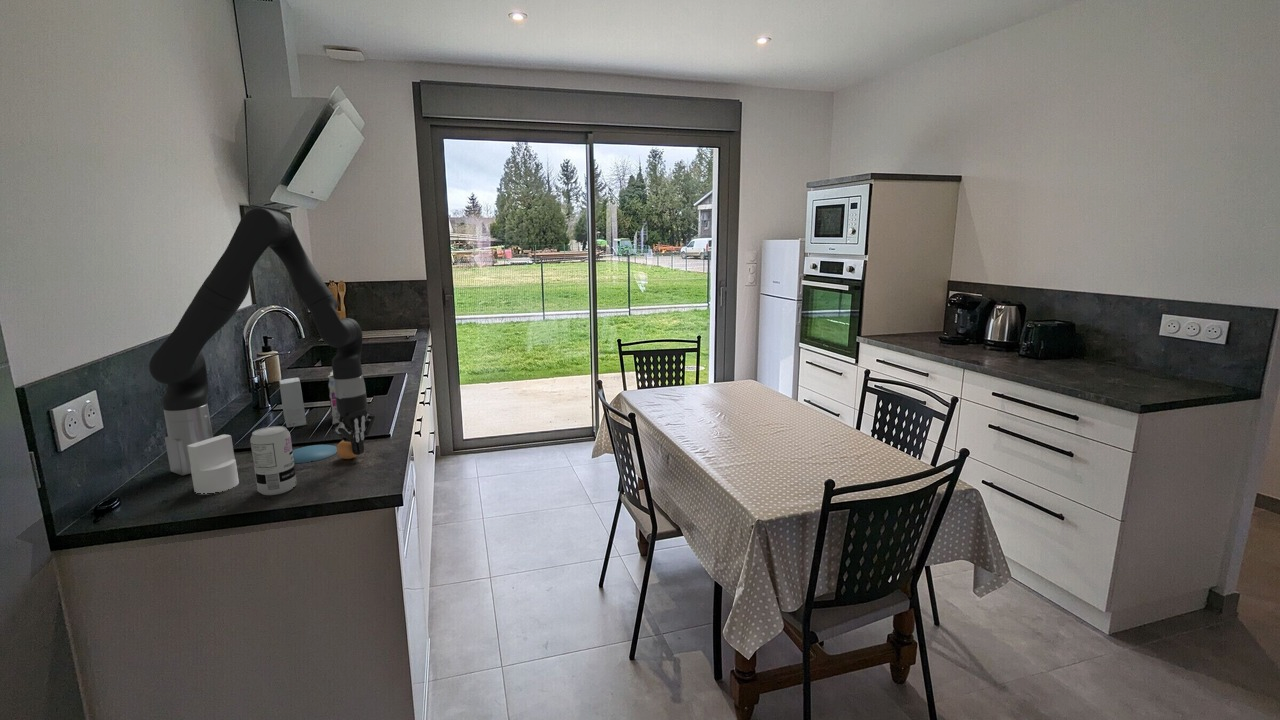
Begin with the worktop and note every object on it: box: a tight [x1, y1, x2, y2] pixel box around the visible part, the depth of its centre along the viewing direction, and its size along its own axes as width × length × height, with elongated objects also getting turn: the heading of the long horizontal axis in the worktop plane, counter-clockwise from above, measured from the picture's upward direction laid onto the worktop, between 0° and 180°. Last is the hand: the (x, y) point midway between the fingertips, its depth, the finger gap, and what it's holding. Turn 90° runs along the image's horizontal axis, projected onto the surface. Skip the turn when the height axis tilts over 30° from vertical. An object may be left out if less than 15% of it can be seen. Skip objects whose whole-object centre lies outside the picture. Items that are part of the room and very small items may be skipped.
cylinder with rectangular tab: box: [187, 434, 240, 495], centre depth 144 cm, size 9×9×12 cm
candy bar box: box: [327, 370, 340, 425], centre depth 197 cm, size 11×5×16 cm, turn 21°
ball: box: [336, 439, 357, 460], centre depth 163 cm, size 6×6×6 cm
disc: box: [292, 444, 338, 464], centre depth 167 cm, size 14×14×1 cm
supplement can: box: [249, 425, 298, 496], centre depth 142 cm, size 8×8×15 cm
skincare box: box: [278, 377, 308, 428], centre depth 193 cm, size 8×6×15 cm
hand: (358, 453), depth 161 cm, fingers closed
